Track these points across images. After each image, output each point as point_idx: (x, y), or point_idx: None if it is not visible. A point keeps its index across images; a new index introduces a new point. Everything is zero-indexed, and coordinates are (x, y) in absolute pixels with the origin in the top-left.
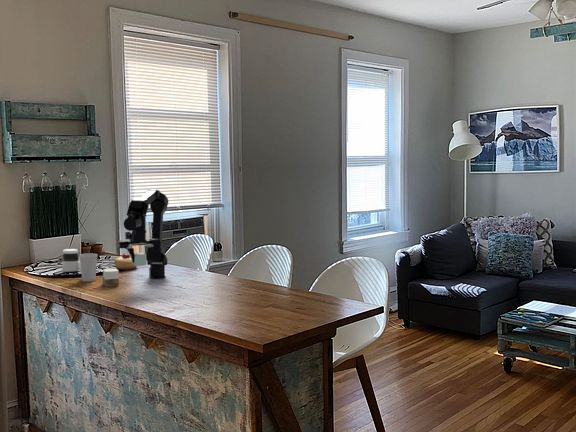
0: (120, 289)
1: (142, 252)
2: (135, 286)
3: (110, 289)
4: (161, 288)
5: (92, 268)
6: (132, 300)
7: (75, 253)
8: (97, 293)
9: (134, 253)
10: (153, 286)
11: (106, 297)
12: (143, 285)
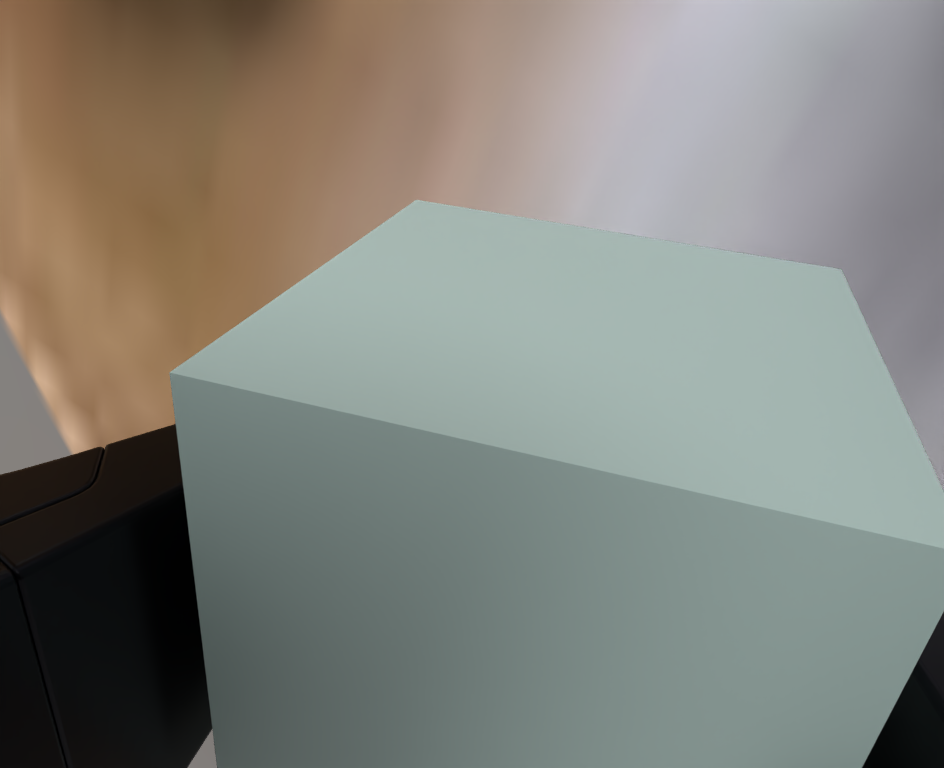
0: (339, 148)
1: (888, 568)
2: (636, 66)
3: (205, 60)
4: (933, 457)
5: None
6: None
7: None
8: (31, 202)
9: (269, 547)
10: (921, 254)
11: (117, 437)
12: (813, 65)
